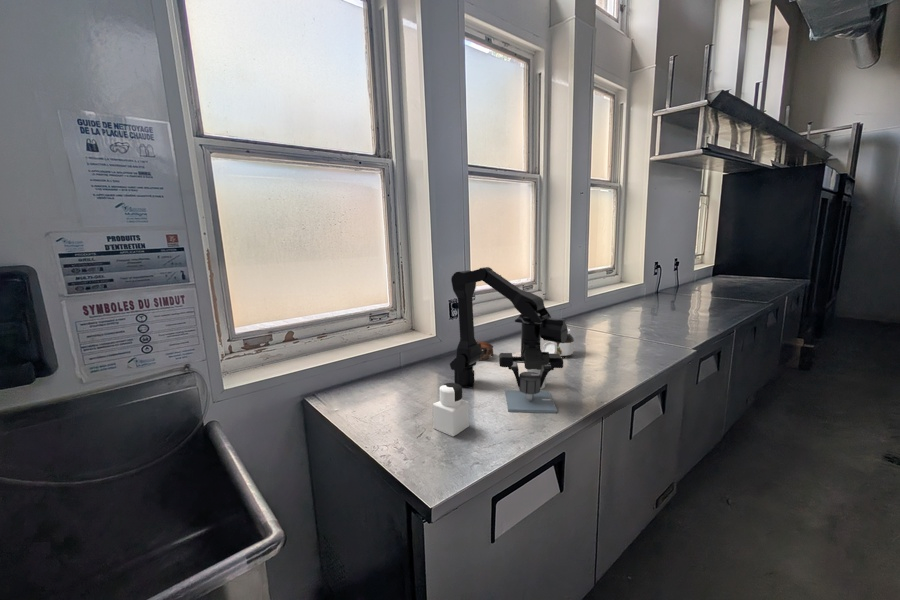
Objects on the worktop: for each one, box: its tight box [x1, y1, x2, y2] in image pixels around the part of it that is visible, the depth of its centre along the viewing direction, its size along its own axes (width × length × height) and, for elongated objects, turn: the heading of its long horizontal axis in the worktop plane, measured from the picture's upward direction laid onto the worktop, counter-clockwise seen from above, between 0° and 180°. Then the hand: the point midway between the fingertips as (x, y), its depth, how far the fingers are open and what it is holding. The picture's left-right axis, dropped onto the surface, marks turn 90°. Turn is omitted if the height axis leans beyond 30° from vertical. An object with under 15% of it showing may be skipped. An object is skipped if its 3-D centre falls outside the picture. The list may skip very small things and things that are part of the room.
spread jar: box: [541, 327, 575, 359], centre depth 157 cm, size 12×11×12 cm
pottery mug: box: [476, 340, 494, 362], centre depth 156 cm, size 12×10×8 cm
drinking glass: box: [526, 369, 546, 390], centre depth 125 cm, size 7×7×10 cm
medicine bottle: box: [432, 382, 470, 437], centre depth 98 cm, size 7×7×12 cm
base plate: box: [504, 389, 558, 414], centre depth 114 cm, size 14×14×4 cm
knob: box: [518, 371, 541, 394], centre depth 113 cm, size 6×6×5 cm
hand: (529, 386), depth 113 cm, fingers closed on knob, 6 cm apart
